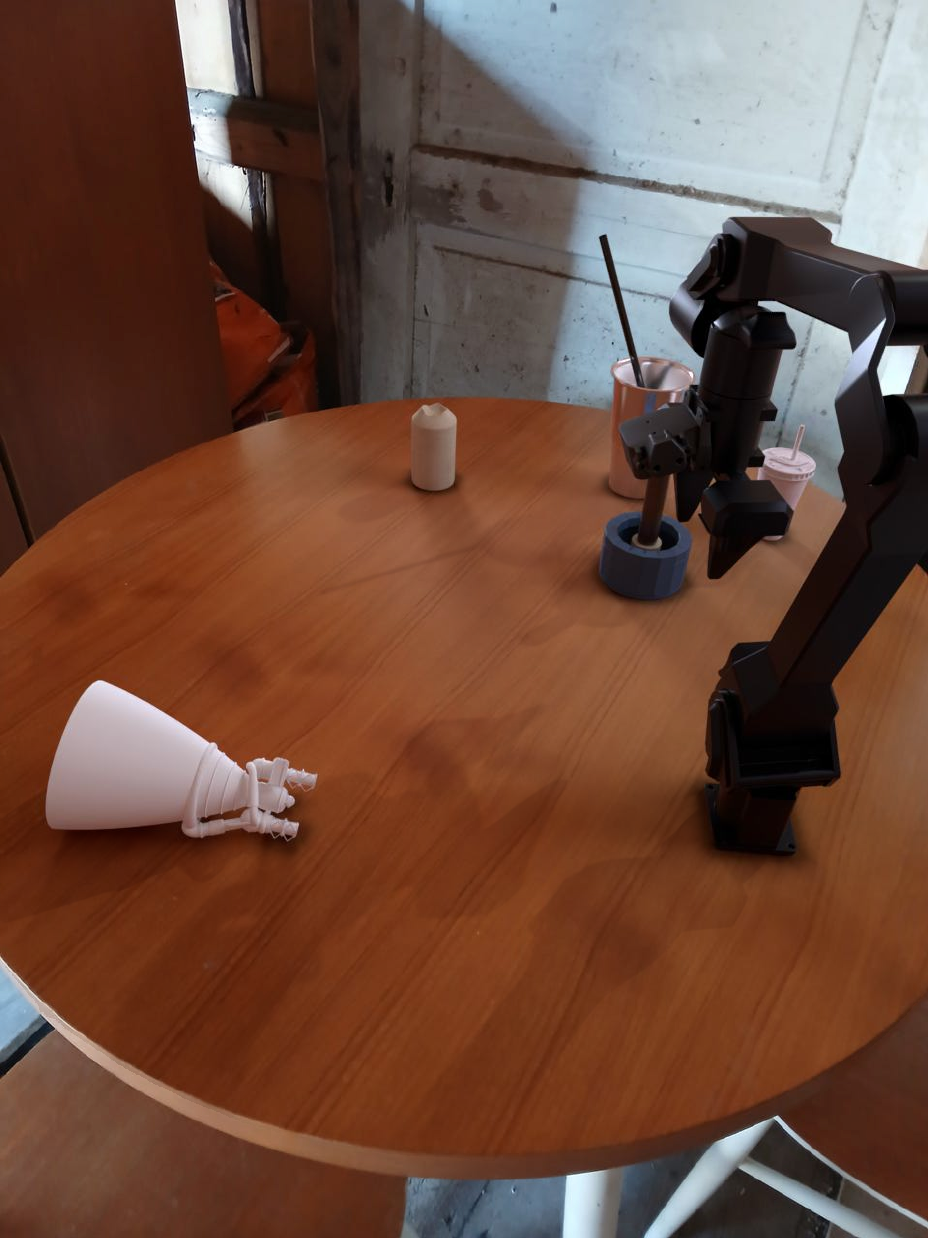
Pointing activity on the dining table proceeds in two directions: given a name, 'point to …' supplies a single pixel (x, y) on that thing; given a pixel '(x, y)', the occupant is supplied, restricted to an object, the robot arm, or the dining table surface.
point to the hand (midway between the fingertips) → (697, 548)
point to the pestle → (651, 515)
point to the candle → (433, 447)
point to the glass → (637, 390)
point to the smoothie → (787, 472)
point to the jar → (644, 558)
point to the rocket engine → (157, 773)
